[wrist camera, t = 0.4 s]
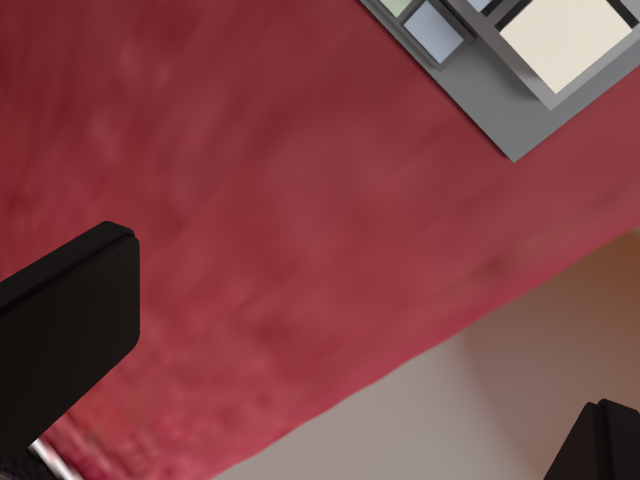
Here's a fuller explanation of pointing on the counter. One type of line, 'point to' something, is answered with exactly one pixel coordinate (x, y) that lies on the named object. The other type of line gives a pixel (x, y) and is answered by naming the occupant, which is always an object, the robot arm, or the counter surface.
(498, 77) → the keypad board
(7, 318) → the robot arm
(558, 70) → the cream key
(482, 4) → the slate key
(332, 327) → the counter surface
